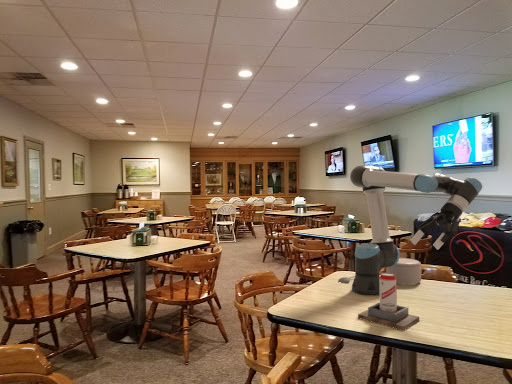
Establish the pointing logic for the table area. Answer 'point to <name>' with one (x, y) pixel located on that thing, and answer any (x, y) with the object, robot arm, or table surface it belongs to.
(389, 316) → the grey shallow square box
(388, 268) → the container
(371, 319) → the keeper board
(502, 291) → the table surface
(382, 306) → the beer can
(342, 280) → the soupspoon
